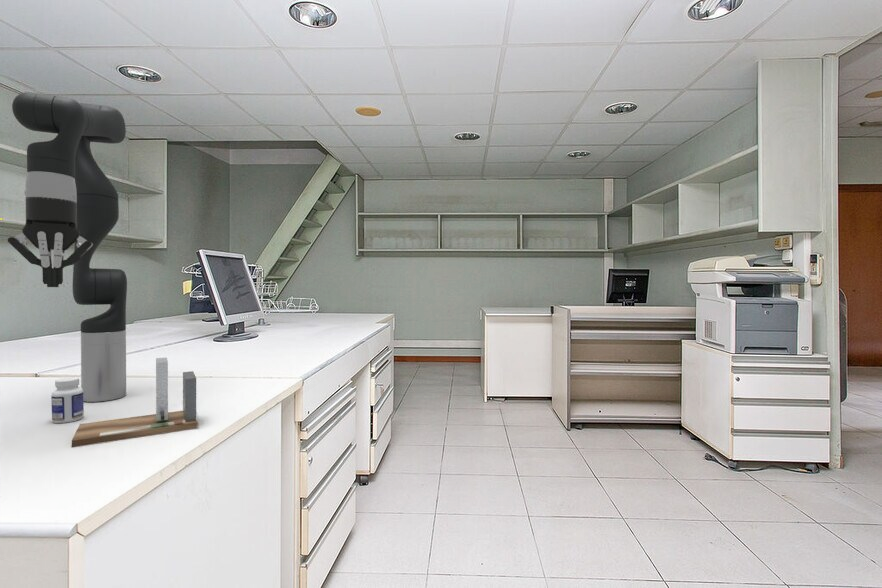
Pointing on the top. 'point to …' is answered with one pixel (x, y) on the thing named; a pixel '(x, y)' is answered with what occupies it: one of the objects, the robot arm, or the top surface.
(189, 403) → the grey wood-grain slab
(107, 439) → the brown wooden base board
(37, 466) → the top surface
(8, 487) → the top surface
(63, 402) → the pill bottle
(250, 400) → the top surface
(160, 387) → the brushed steel sheet
